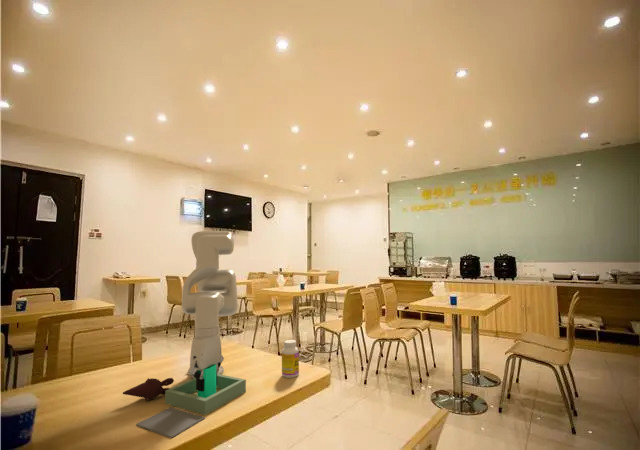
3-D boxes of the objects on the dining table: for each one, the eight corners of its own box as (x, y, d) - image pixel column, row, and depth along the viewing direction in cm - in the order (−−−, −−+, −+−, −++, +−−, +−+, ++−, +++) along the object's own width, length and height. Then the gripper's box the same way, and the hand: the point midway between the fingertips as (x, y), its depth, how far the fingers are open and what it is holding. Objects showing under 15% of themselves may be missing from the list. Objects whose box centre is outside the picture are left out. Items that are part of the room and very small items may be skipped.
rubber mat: (136, 425, 91) (136, 423, 91) (170, 408, 101) (170, 407, 101) (171, 438, 84) (171, 436, 84) (204, 418, 94) (204, 417, 94)
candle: (220, 394, 110) (220, 358, 111) (208, 402, 104) (208, 364, 105) (205, 392, 112) (205, 356, 113) (193, 400, 106) (193, 362, 107)
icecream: (124, 389, 101) (175, 382, 109) (124, 376, 107) (173, 370, 115) (121, 410, 101) (172, 401, 109) (121, 396, 107) (170, 388, 115)
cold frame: (165, 403, 104) (165, 390, 105) (208, 383, 120) (208, 371, 120) (205, 415, 96) (205, 401, 96) (245, 391, 112) (245, 379, 112)
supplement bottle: (296, 379, 122) (295, 343, 123) (279, 378, 123) (279, 343, 124) (301, 372, 128) (300, 339, 129) (285, 371, 130) (284, 338, 131)
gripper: (217, 325, 119) (217, 376, 117) (178, 336, 104) (177, 395, 103) (233, 327, 116) (233, 380, 114) (194, 339, 101) (194, 400, 99)
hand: (206, 386), depth 108 cm, fingers closed on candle, 4 cm apart
